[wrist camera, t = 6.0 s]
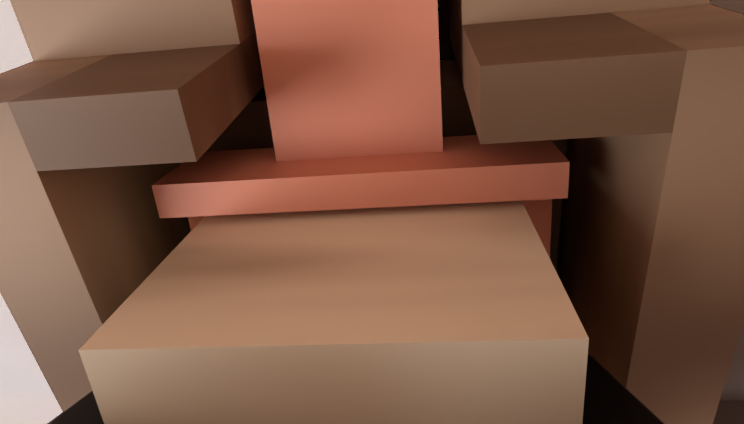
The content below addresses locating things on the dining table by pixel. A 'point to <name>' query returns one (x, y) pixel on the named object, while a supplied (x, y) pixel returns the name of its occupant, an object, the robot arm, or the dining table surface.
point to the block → (347, 323)
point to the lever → (359, 125)
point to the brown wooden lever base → (459, 118)
